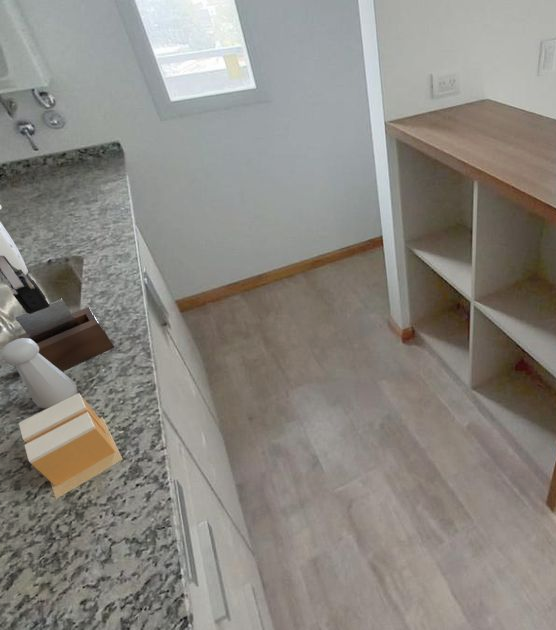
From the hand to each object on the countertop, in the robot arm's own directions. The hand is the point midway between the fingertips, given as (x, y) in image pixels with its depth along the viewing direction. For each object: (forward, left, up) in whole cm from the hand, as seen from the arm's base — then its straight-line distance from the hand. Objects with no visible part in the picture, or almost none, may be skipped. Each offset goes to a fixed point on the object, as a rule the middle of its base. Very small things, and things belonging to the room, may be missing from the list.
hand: (36, 305), depth 76 cm
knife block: (0, 0, -12) cm, 12 cm away
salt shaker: (-4, -13, -12) cm, 18 cm away
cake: (-4, -28, -12) cm, 30 cm away
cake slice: (-4, -29, -11) cm, 31 cm away
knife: (0, 0, -9) cm, 9 cm away
